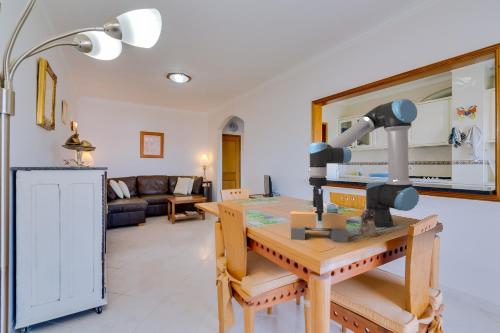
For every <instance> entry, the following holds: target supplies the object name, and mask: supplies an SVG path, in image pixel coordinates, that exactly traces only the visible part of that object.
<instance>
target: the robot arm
mask: <svg viewBox="0 0 500 333" xmlns="http://www.w3.org/2000/svg"><path fill="white" fill-rule="evenodd" d="M417 117H418V109H417V106H416V104H415V103H414V102H413V101H412V100H410V99H407V98H400V99H395V100H393V101H389V102H386V103H382V104H379V105H377V106H375V107H374V108H372V109H371V110H369V111H368V112H366V113H365V114H364V115H363V116H361V117H360V118H359V120H358V121H357V122H355V124H353V125H351V126H350V127H349V128H347V129H346V130H345V131H343V132H341V133H340V134H339V135H338V136H336V137H335V138H333V139H332V140H331V141H329V142H312V143H310V145H309V151H308V152H309V153H308V154H309V168H308V172H309V176H310V177H309V180H308V182H309V186H312V187H313V189H312V206H313V207H312V212H315V213H316V228H323V212H324V210H323V202H324V189H323V188H322V187H324V186H327V181H328V180H327V175H328V164H337V165H338V164H341V165H343V164H348V163H350V161H351V160H352V156H353V155H352V151H351V149H350V148H349V146H351V145H352V144H354V143H355V142H357V140H359V139H361V138H362V137H363V136H366V134H367V133H372V132H374V131H375V130H377V129H379V128H383V130H384V131H386V133H387V165H388V167H387V169H388V170H387V171H388V179H387V180H386V181H379V182H377V181H376V182H368V183H367V184H366V188H365V205H366V206H365V210H366V209H368V210H369V211H371V210H374V212H373V215H374V217H375V219H374V223H375V227H378V228H379V227H381V228H389V227H390V228H391V227H393V226H394V219H393V217H392V213H391V211H390V210H391V209H394V210H396V211H403V212H407V211H408V212H409V211H411V210H413V209H414V208H415V207H416V206H418V204H419V203H418V202H419V200H420V193H419V192H418V190H417V189H416V188H414V185H413V182H412V181H411V180H410V179H409V177H410V176H409V174H410V173H409V172H410V171H409V137H408V136H409V134H408V133H409V132H408V131H409V130H410V129H411V128H412V123H413V122H414V121H415V120H416V118H417ZM370 218H371V219H373V216H371V217H370Z"/></svg>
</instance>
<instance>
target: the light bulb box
mask: <svg viewBox="0 0 500 333" xmlns="http://www.w3.org/2000/svg"><path fill="white" fill-rule="evenodd" d="M339 206H340V205H338V204H336V203H333V202H331V201H329V202H327V201H326V202H325V201H323V210H324V212H327V213H340V212H339Z"/></svg>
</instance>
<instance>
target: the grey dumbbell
mask: <svg viewBox="0 0 500 333" xmlns="http://www.w3.org/2000/svg"><path fill="white" fill-rule="evenodd" d="M306 231H311V232H312V231H313V232H314V231H315V232H328V234H329V237H330V238H331V240H332V241H333V242H336V243H348V242H349V240H348V239H349V231H348V229H347V228H346V229H332V228H308V227H291V226H290V240H293V239H295V241H298V240H299V241H305V240H306Z"/></svg>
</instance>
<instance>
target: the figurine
mask: <svg viewBox="0 0 500 333" xmlns="http://www.w3.org/2000/svg"><path fill="white" fill-rule="evenodd" d="M373 212H374V210H371V211H369V210H368V209H366V208H365V210H363V211H362V213H361V215H360V220H361V223H360V228H359V232H358V233H359V235H361V236H362V237H368V238H369V237H370V238H373V237H375V236H376V235H377V228H376V227H377V226H375V223H374V219H375V217H374V215H373ZM371 216H373V219H371V218H370V217H371Z"/></svg>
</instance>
